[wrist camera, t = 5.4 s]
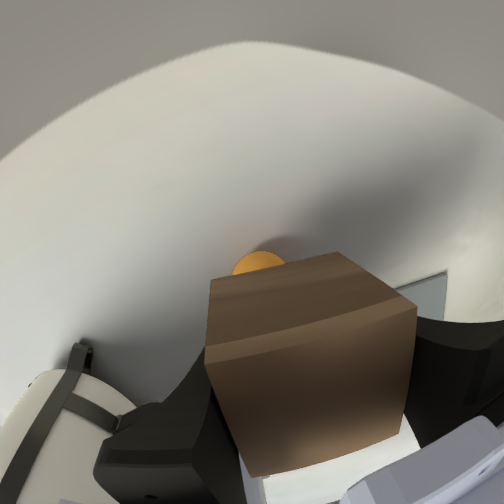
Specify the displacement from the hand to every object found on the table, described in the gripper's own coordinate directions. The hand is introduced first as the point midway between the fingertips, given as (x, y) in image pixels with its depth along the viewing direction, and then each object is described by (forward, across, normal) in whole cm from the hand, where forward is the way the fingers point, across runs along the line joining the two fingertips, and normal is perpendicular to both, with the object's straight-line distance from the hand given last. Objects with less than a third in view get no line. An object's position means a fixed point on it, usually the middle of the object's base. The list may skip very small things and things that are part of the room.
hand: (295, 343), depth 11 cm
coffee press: (+9, +16, +8) cm, 20 cm away
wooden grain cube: (+2, 0, 0) cm, 2 cm away
